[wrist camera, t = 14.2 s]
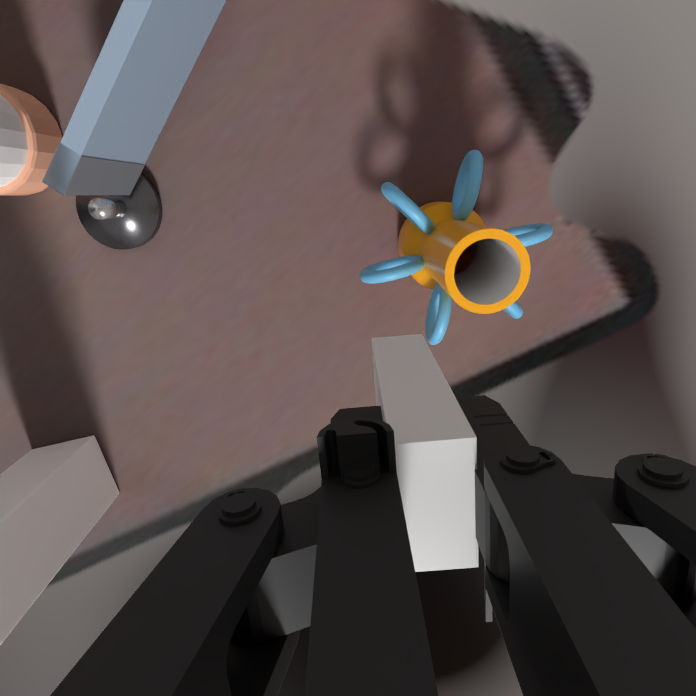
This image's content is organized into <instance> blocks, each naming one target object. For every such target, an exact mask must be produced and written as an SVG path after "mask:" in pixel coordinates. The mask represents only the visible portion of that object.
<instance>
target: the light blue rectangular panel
mask: <svg viewBox="0 0 696 696" xmlns="http://www.w3.org/2000/svg"><path fill="white" fill-rule="evenodd" d="M225 2H226V0H124V1H123V3H122V5H121V7H120V10H119V12H118V14H117V16H116V19H115V21H114V23H113V25H112V28H111V30H110V32H109V34H108V37H107V39H106V41H105V43H104V46H103V48H102V50H101V52H100V55H99V57H98V59H97V61H96V64H95V66H94V68H93V70H92V73H91V75H90V77H89V79H88V82H87V84H86V86H85V88H84V91H83V93H82V95H81V97H80V100H79V102H78V104H77V106H76V109H75V111H74V113H73V115H72V118H71V120H70V122H69V124H68V127H67V129H66V131H65V133H64V136H63V138H62V140H61V142H59V144H58V147H57V149H56V151H55V153H54V156H53V158H52V160H51V162H50V165H49V167H48V169H47V171H46V174H45V176H44V178H43V180H42V182H43V183H44V184H46V185H48V186H49V187H51V188H52V189H54V190H56V191H57V192H59V193H61V194H62V195H130V194H131V192H132V190H133V188H134V186H135V184H136V182H137V180H138V178H139V176H140V174H141V172H142V170H143V168H144V166H145V165H144V164H145V162H146V160H147V158H148V156H149V154H150V152H151V150H152V148H153V146H154V144H155V142H156V140H157V138H158V136H159V134H160V132H161V130H162V128H163V126H164V124H165V122H166V120H167V118H168V116H169V114H170V112H171V110H172V108H173V106H174V104H175V102H176V100H177V98H178V96H179V94H180V92H181V90H182V88H183V86H184V84H185V82H186V80H187V78H188V76H189V74H190V72H191V70H192V68H193V66H194V64H195V62H196V60H197V58H198V56H199V54H200V52H201V50H202V48H203V46H204V44H205V42H206V40H207V38H208V36H209V34H210V32H211V30H212V28H213V26H214V24H215V22H216V20H217V18H218V16H219V14H220V12H221V10H222V8H223V6H224V4H225Z"/></svg>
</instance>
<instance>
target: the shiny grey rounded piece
mask: <svg viewBox="0 0 696 696" xmlns="http://www.w3.org/2000/svg"><path fill="white" fill-rule="evenodd" d="M76 207H77V212H78V216H79V218H80V221H81V223H82V225H83V226H84V228H85V229H86V231H87V232H88V233H89V234H90V235H91V236H92V237H93V238H94V239H95V240H97V241H98V242H100V243H101V244H103V245H105V246H108V247H110V248H114V249H131V248H135V247H138V246H141V245H143V244H145V243H147V242H148V241H149V240H151V239H152V238H153V237H154V235H155V234H156V232H157V231H158V229H159V227H160V224H161V220H162V204H161V200H160V197H159V194H158V192H157V190H156V188H155V187H154V185H153V184H152V183H151V182H150V180H149V179H148V178H147V177H146V176H145V175H143V174H142V173H141V174H140V176H139V178H138V180H137V182H136V184H135V186H134V188H133V190H132V192H131V194H130V195H76Z"/></svg>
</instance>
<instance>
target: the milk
mask: <svg viewBox="0 0 696 696" xmlns="http://www.w3.org/2000/svg"><path fill="white" fill-rule="evenodd" d="M118 494H119V490H118V488H117V486H116V483H115V481H114V479H113V476H112V474H111V472H110V470H109V467H108V465H107V463H106V461H105V458H104V456H103V454H102V451H101V449H100V447H99V445H98V442H97V440H96V438H95V436H94V435H93V436H88V437H84V438H80V439H75V440H71V441H67V442H62V443H58V444H54V445H49V446H45V447H40V448H36V449H32V450H30V451H29V452H28V453H27V454H25V455H24V456H23V457H22V458H20V459H19V460H18V461H16V462H15V463H14V464H13V465H11V466H10V467H9V468H8V469H6V470H5V471H4V472H3V473H1V474H0V645H1V644H2V642H3V641H4V640H5V639H6V637H7V636H8V635H9V634H10V632H11V631H12V630H13V628H14V627H15V626H16V625H17V623H18V622H19V621H20V619H21V618H22V617H23V616H24V614H25V613H26V612H27V611H28V609H29V608H30V607H31V605H32V604H33V603H34V602H35V600H36V599H37V598H38V597H39V595H40V594H41V593H42V591H43V590H44V589H45V588H46V586H47V585H48V584H49V583H50V581H51V580H52V579H53V577H54V576H55V575H56V574H57V572H58V571H59V570H60V568H61V567H62V566H63V565H64V563H65V562H66V561H67V560H68V558H69V557H70V556H71V554H72V553H73V552H74V551H75V549H76V548H77V547H78V546H79V544H80V543H81V542H82V540H83V539H84V538H85V537H86V535H87V534H88V533H89V531H90V530H91V529H92V528H93V526H94V525H95V524H96V523H97V521H98V520H99V519H100V517H101V516H102V515H103V514H104V512H105V511H106V510H107V509H108V507H109V506H110V505H111V503H112V502H113V501H114V500H115V498H116V497H117V496H118Z"/></svg>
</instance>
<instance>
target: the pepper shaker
mask: <svg viewBox="0 0 696 696" xmlns="http://www.w3.org/2000/svg"><path fill="white" fill-rule="evenodd" d="M62 138H63V136H62V134H61V131H60V129H59V126H58V123H57V121H56V120H55V118H54V117H53V115H52V114H51V113H50V111H49V110H48V109H47V107H46V106H45V105H44V104H42V103H41V102H40V101H39V100H37V99H36V98H35V97H34V96H32V95H31V94H28V93H26V92H23V91H21V90H19V89H16V88H13V87H10V86H7V85H4V84H1V83H0V195H30V194H34V193H38V192H42V191H43V190H44V189H46V188H47V187H48V185H46V184H44V183H43V182H42V180H43V178H44V176H45V174H46V171H47V169H48V167H49V165H50V162H51V160H52V158H53V156H54V153H55V151H56V149H57V147H58V144H59V142H61V140H62Z"/></svg>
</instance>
